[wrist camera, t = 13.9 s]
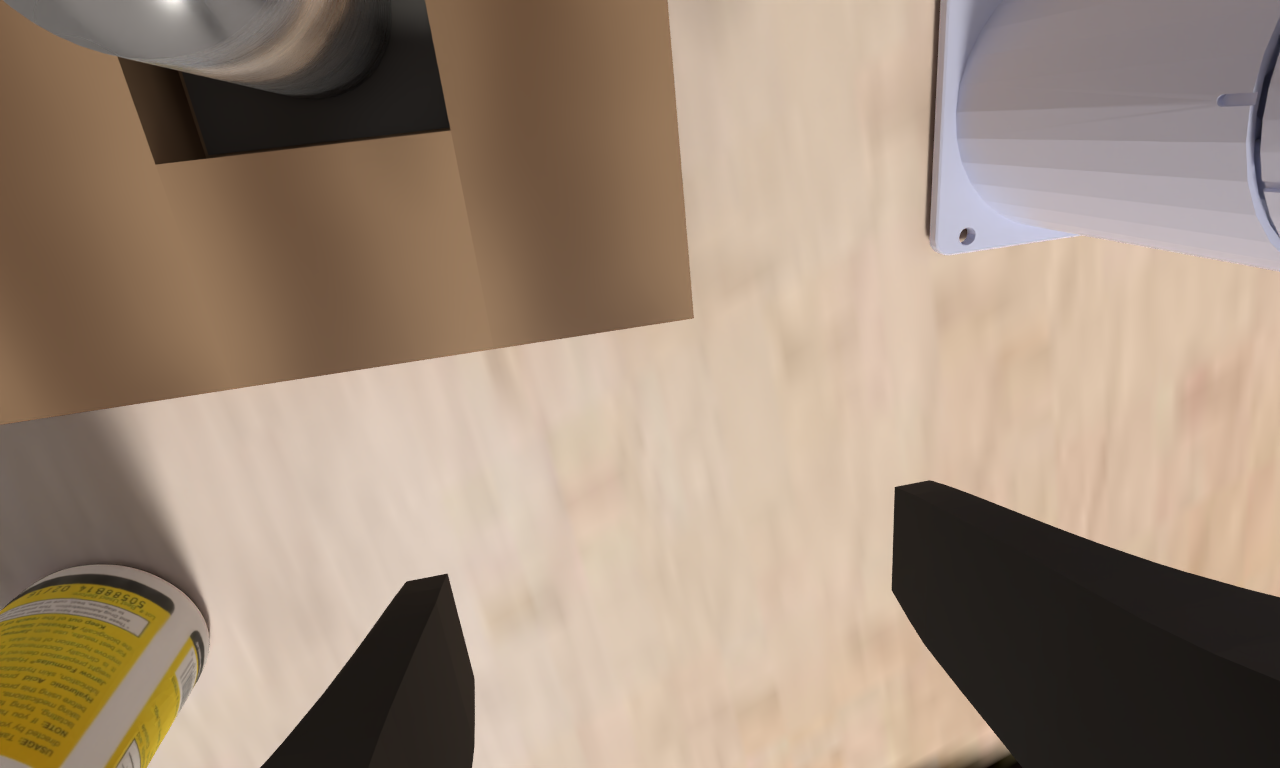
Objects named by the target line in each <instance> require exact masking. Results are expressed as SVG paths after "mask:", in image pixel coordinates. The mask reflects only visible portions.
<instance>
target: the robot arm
mask: <svg viewBox="0 0 1280 768" xmlns="http://www.w3.org/2000/svg"><path fill="white" fill-rule="evenodd" d="M965 228H966V229H967V233H968V234H967V237H966V239H965V240H964V241H963V242H961V243H960V240H959V236H960V233H961V232H962V230H963V229H965ZM1082 235H1083V236H1088V237H1094V238H1099V239H1105V240H1110V241H1116V242H1121V243H1126V244H1132V245H1137V246H1143V247H1148V248H1154V249H1159V250H1165V251H1170V252H1176V253H1181V254H1187V255H1192V256H1197V257H1203V258H1208V259H1214V260H1219V261H1225V262H1230V263H1236V264H1241V265H1247V266H1252V267H1257V268H1263V269H1268V270H1274V271H1279V272H1280V0H941V1H940V23H939V45H938V66H937V88H936V110H935V131H934V153H933V174H932V196H931V218H930V246H931V247H932V249H933V250H934V251H936V252H937V253H940V254H943V255H954V254H961V253H968V252H974V251H981V250H988V249H994V248H1001V247H1008V246H1015V245H1021V244H1028V243H1035V242H1041V241H1048V240H1055V239H1061V238H1068V237H1075V236H1082ZM892 591H893V593H894V595H895V597H896V598H897V600H898V602H899V603H900V605H901V607H902V609H903V610H904V612H905V614H906V615H907V617H908V619H909V621H910V622H911V624H912V625H913V627H914V629H915V630H916V632H917V633H918V635H919V637H920V638H921V640H922V641H923V643H924V644H925V646H926V647H927V648H928V650H929V651H930V652H931V653H932V655H933V656H934V657H935V659H936V660H937V661H938V662H939V664H940V665H941V666H942V668H943V669H944V670H945V671H946V673H947V674H948V675H949V676H950V678H951V679H952V680H953V681H954V683H955V684H956V685H957V687H958V688H959V689H960V690H961V692H962V693H963V694H964V695H965V697H966V698H967V699H968V700H969V701H970V703H971V704H972V705H973V706H974V708H975V709H976V710H977V711H978V713H979V714H980V715H981V716H982V718H983V719H984V720H985V721H986V723H987V724H988V725H989V726H990V728H991V729H992V730H993V731H994V733H995V734H996V735H997V736H998V738H999V739H1000V740H1001V741H1002V743H1003V744H1004V745H1005V746H1006V748H1007V749H1008V750H1009V751H1010V752H1011V754H1012V755H1013V756H1014V757H1015V759H1016V760H1017V761H1018V762H1019V764H1020V765H1021V766H1022V767H1023V768H1280V597H1276V596H1272V595H1268V594H1264V593H1260V592H1256V591H1252V590H1248V589H1244V588H1241V587H1237V586H1234V585H1230V584H1226V583H1223V582H1219V581H1216V580H1212V579H1209V578H1205V577H1202V576H1198V575H1194V574H1191V573H1187V572H1184V571H1180V570H1177V569H1174V568H1171V567H1168V566H1164V565H1161V564H1158V563H1155V562H1152V561H1149V560H1146V559H1143V558H1140V557H1137V556H1134V555H1131V554H1128V553H1125V552H1122V551H1119V550H1116V549H1113V548H1110V547H1108V546H1105V545H1102V544H1099V543H1096V542H1093V541H1091V540H1088V539H1085V538H1083V537H1080V536H1077V535H1074V534H1072V533H1069V532H1066V531H1064V530H1061V529H1058V528H1056V527H1053V526H1051V525H1048V524H1045V523H1043V522H1040V521H1038V520H1035V519H1033V518H1030V517H1028V516H1025V515H1022V514H1020V513H1017V512H1015V511H1012V510H1010V509H1007V508H1005V507H1002V506H1000V505H997V504H995V503H992V502H989V501H987V500H984V499H982V498H979V497H977V496H974V495H971V494H969V493H966V492H963V491H961V490H958V489H955V488H952V487H949V486H946V485H944V484H940V483H937V482H934V481H930V480H929V481H924V482H919V483H914V484H908V485H903V486H898V487H895V500H894V533H893V566H892ZM474 733H475V684H474V675H473V671H472V667H471V664H470V660H469V656H468V652H467V648H466V644H465V640H464V636H463V632H462V628H461V624H460V621H459V617H458V613H457V609H456V605H455V601H454V597H453V593H452V589H451V585H450V581H449V577H448V574H443V575H438V576H433V577H428V578H423V579H418V580H412V581H407V582H406V583H405V584H404V585H403V587H402V588H401V589H400V591H399V592H398V593H397V595H396V596H395V597H394V599H393V600H392V601H391V603H390V604H389V606H388V607H387V608H386V610H385V611H384V613H383V614H382V615H381V617H380V618H379V620H378V621H377V622H376V624H375V625H374V627H373V628H372V629H371V631H370V632H369V633H368V635H367V636H366V638H365V639H364V640H363V642H362V643H361V645H360V646H359V647H358V649H357V650H356V651H355V653H354V654H353V655H352V657H351V658H350V659H349V661H348V662H347V663H346V665H345V666H344V667H343V668H342V670H341V671H340V672H339V674H338V675H337V676H336V678H335V679H334V680H333V682H332V683H331V684H330V686H329V687H328V688H327V690H326V691H325V692H324V693H323V695H322V696H321V697H320V698H319V700H318V701H317V702H316V703H315V704H314V706H313V707H312V708H311V709H310V710H309V712H308V713H307V714H306V715H305V716H304V718H303V719H302V720H301V721H300V723H299V724H298V725H297V726H296V727H295V729H294V730H293V731H292V732H291V733H290V735H289V736H288V737H287V738H286V739H285V741H284V742H283V743H282V744H281V745H280V746H279V747H278V749H277V750H276V751H275V752H274V753H273V754H272V755H271V756H270V758H269V759H268V760H267V761H266V762H265V763H264V764H263V765H262V766H261V767H260V768H472V762H473V753H474Z"/></svg>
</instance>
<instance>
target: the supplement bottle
mask: <svg viewBox="0 0 1280 768" xmlns="http://www.w3.org/2000/svg"><path fill="white" fill-rule="evenodd" d="M209 645H210V642H209V632H208V628H207V625H206V623H205V620H204V618H203V616H202V614H201V612H200V611H199V609H198V608H197V607H196V605H195V604H194V603H193V602H192V601H191V600H190V598H189V597H187V596H186V595H185V594H184V593H183V592H182V591H181V590H179V589H178V588H176V587H175V586H174V585H172V584H170V583H169V582H167V581H165V580H163V579H161V578H160V577H157V576H155V575H153V574H151V573H148V572H145V571H142V570H139V569H135V568H131V567H126V566H121V565H106V564H99V565H84V566H78V567H72V568H68V569H64V570H61V571H58V572H56V573H53V574H51V575H49V576H47V577H45V578H43V579H41V580H39V581H37V582H36V583H34V584H33V585H31V586H30V587H29V588H27V589H26V590H25V591H23V592H22V593H21V594H20V595H18V596H17V597H16V598H15V599H13V600H12V601H11V602H10V603H9V604H8V605H7V606H6V607H5V608H4V609H3V610H2V611H0V768H147V766H148V764H149V763H150V761H151V759H152V757H153V756H154V754H155V752H156V750H157V749H158V747H159V745H160V744H161V742H162V740H163V739H164V737H165V735H166V734H167V732H168V730H169V728H170V727H171V725H172V723H173V722H174V720H175V718H176V717H177V715H178V713H179V711H180V710H181V708H182V706H183V705H184V703H185V701H186V700H187V698H188V696H189V694H190V693H191V691H192V689H193V687H194V686H195V684H196V682H197V681H198V679H199V677H200V674H201V672H202V670H203V668H204V666H205V664H206V661H207V657H208V653H209Z"/></svg>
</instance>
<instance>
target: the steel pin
mask: <svg viewBox="0 0 1280 768" xmlns="http://www.w3.org/2000/svg"><path fill="white" fill-rule="evenodd" d="M3 1H4V2H5V3H7V4H8V5H9V6H10V7H11V8H13V9H14V10H16V11H17V12H19V13H20V14H21V15H23V16H24V17H26V18H27V19H29V20H30V21H31V22H33V23H35V24H36V25H38V26H40V27H42V28H44V29H45V30H47V31H49V32H51V33H52V34H54V35H56V36H58V37H61V38H63V39H65V40H67V41H70V42H72V43H74V44H77V45H79V46H82V47H85V48H88V49H91V50H95V51H98V52H101V53H104V54H109V55H113V56H117V57H122V58H126V59H130V60H135V61H139V62H143V63H148V64H152V65H156V66H161V67H165V68H169V69H174V70H178V71H182V72H187V73H191V74H196V75H200V76H204V77H209V78H213V79H217V80H222V81H226V82H230V83H235V84H239V85H243V86H248V87H252V88H256V89H261V90H265V91H269V92H274V93H278V94H282V95H287V96H291V97H296V98H302V99H327V98H332V97H336V96H339V95H342V94H345V93H347V92H349V91H351V90H353V89H355V88H357V87H358V86H359V85H361V84H362V83H363V82H365V81H366V80H367V79H368V78H369V77H370V76H371V75H372V74H373V73H374V71H375V70H376V68H377V67H378V66H379V64H380V63H381V61H382V59H383V57H384V55H385V53H386V50H387V47H388V44H389V40H390V34H391V26H392V10H391V2H390V0H3Z"/></svg>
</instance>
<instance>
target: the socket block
mask: <svg viewBox="0 0 1280 768" xmlns="http://www.w3.org/2000/svg"><path fill="white" fill-rule="evenodd" d="M390 2H391V10H392V26H391V34H390V40H389V44H388V47H387V50H386V53H385V55H384V57H383V59H382V61H381V63H380V64H379V66H378V67H377V68H376V70H375V71H374V73H373V74H372V75H371V76H370V77H369V78H368V79H367V80H366V81H365V82H363V83H362V84H361V85H359V86H358V87H357V88H355V89H353V90H351V91H349V92H347V93H345V94H342V95H339V96H336V97H332V98H327V99H302V98H296V97H291V96H287V95H282V94H278V93H274V92H269V91H265V90H261V89H256V88H252V87H248V86H243V85H239V84H235V83H230V82H226V81H222V80H217V79H213V78H209V77H204V76H200V75H196V74H191V73H187V72H182V71H178V70H174V69H169V68H165V67H161V66H156V65H152V64H148V63H143V62H139V61H135V60H130V59H126V58H122V57H117V56H113V55H109V54H104V53H101V52H98V51H95V50H91V49H88V48H85V47H82V46H79V45H77V44H74V43H72V42H70V41H67V40H65V39H63V38H61V37H58V36H56V35H54V34H52V33H51V32H49V31H47V30H45V29H44V28H42V27H40V26H38V25H36V24H35V23H33V22H31V21H30V20H29V19H27V18H26V17H24V16H23V15H21V14H20V13H19V12H17V11H16V10H14V9H13V8H11V7H10V6H9V5H8V4H7V3H5V2H4V1H3V0H0V425H2V424H9V423H15V422H22V421H29V420H35V419H42V418H48V417H55V416H61V415H68V414H74V413H81V412H87V411H94V410H100V409H107V408H113V407H120V406H126V405H133V404H139V403H146V402H152V401H159V400H165V399H172V398H178V397H185V396H191V395H198V394H204V393H211V392H217V391H224V390H230V389H237V388H243V387H250V386H256V385H263V384H269V383H276V382H282V381H289V380H295V379H302V378H308V377H315V376H321V375H328V374H334V373H341V372H347V371H354V370H360V369H367V368H373V367H380V366H386V365H393V364H399V363H406V362H412V361H419V360H425V359H432V358H438V357H445V356H452V355H458V354H465V353H471V352H478V351H484V350H491V349H497V348H504V347H510V346H517V345H523V344H530V343H536V342H543V341H549V340H556V339H562V338H569V337H575V336H582V335H588V334H595V333H601V332H608V331H614V330H621V329H627V328H634V327H640V326H647V325H653V324H660V323H666V322H673V321H679V320H686V319H692V318H694V315H693V303H692V291H691V279H690V267H689V255H688V243H687V231H686V219H685V207H684V195H683V182H682V170H681V158H680V146H679V134H678V122H677V110H676V98H675V86H674V74H673V62H672V50H671V38H670V26H669V14H668V2H667V0H390Z"/></svg>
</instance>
